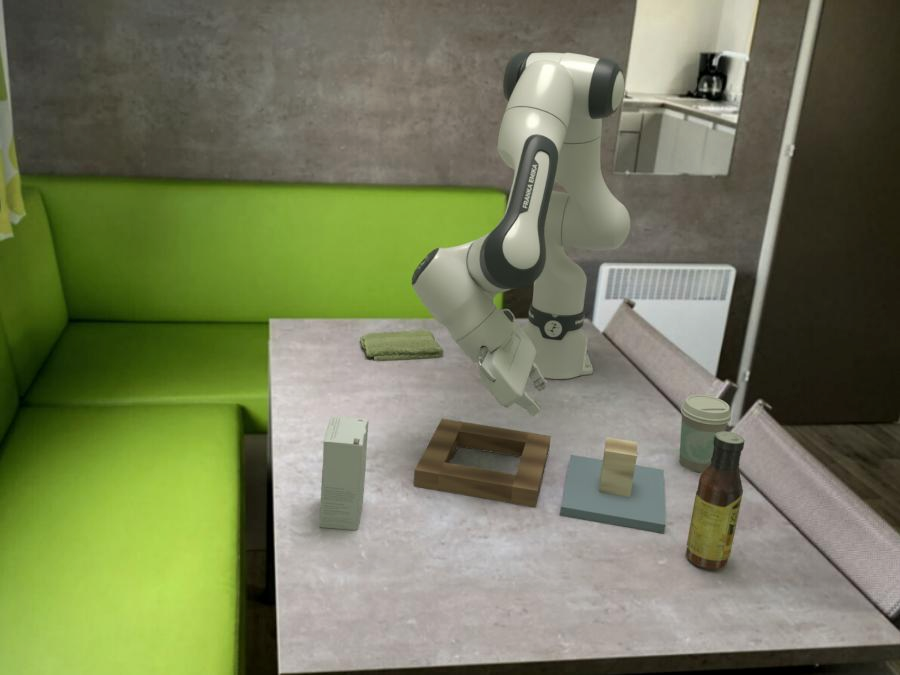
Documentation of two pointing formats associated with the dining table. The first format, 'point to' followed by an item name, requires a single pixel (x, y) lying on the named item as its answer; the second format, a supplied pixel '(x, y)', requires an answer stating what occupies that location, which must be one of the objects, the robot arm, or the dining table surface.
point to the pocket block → (482, 482)
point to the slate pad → (614, 496)
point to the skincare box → (343, 473)
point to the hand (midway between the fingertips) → (540, 399)
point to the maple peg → (618, 467)
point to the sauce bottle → (717, 505)
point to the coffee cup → (701, 429)
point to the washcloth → (401, 345)
